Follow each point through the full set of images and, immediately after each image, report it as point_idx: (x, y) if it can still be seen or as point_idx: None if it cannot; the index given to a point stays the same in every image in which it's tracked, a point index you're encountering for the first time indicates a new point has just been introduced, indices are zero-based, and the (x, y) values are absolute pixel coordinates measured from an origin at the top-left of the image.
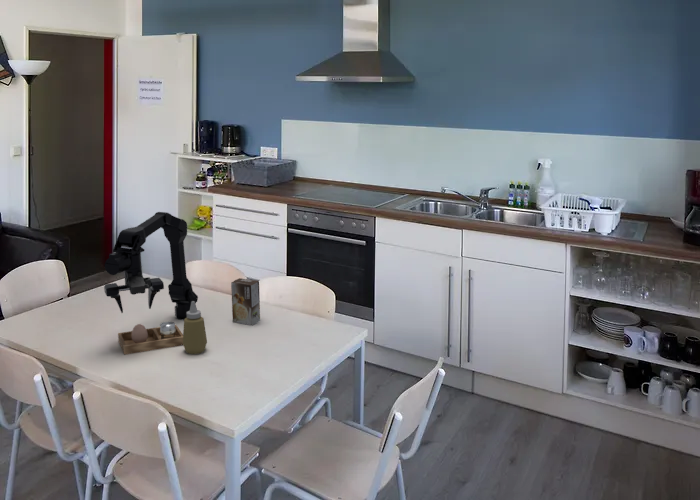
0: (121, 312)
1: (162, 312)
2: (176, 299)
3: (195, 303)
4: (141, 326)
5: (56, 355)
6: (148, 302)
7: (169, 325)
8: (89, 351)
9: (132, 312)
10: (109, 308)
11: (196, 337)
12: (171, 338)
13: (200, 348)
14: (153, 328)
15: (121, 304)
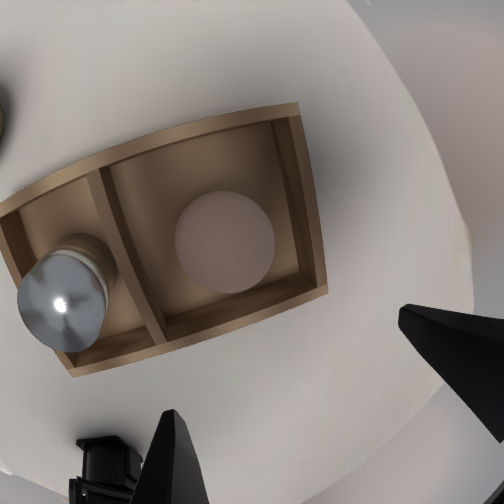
0: (408, 309)
1: None
2: (128, 500)
3: (69, 480)
4: (219, 244)
5: (446, 190)
6: (198, 472)
7: (36, 286)
8: (391, 199)
9: (266, 461)
10: (314, 460)
11: None
12: (36, 188)
13: None
14: (163, 345)
15: (470, 331)
